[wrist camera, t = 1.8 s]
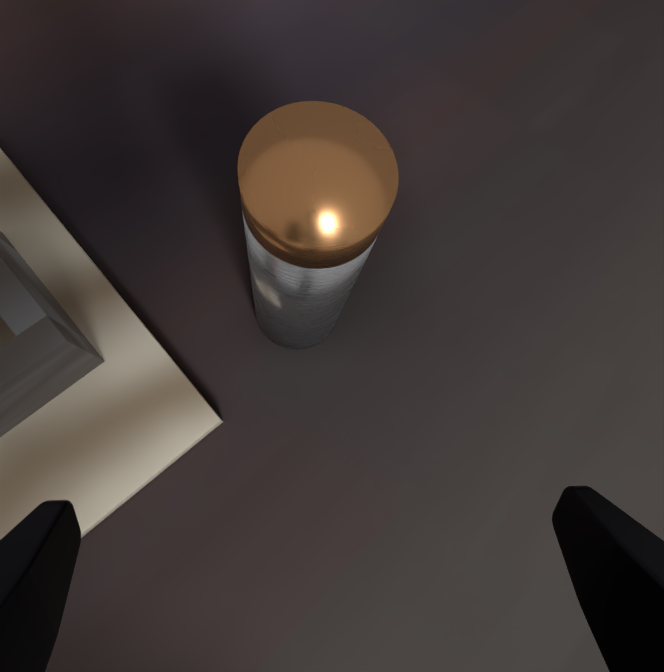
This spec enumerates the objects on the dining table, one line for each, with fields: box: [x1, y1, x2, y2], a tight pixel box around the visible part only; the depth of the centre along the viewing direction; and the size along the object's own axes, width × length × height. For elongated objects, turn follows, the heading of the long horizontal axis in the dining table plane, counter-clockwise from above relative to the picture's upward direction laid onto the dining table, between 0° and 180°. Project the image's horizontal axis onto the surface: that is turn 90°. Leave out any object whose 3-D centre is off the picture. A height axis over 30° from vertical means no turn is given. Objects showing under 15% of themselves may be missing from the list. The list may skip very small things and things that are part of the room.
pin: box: [237, 101, 398, 349], centre depth 18 cm, size 4×4×12 cm
